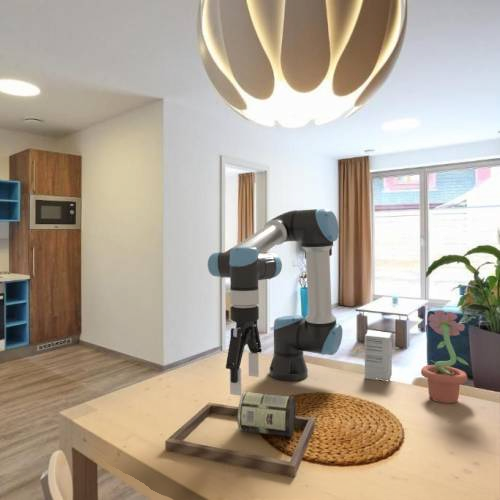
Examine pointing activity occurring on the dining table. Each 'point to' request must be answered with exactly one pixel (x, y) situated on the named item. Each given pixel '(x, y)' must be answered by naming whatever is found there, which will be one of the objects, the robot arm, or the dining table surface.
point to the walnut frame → (235, 457)
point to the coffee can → (267, 414)
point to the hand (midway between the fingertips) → (245, 384)
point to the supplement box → (378, 355)
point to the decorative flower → (441, 375)
